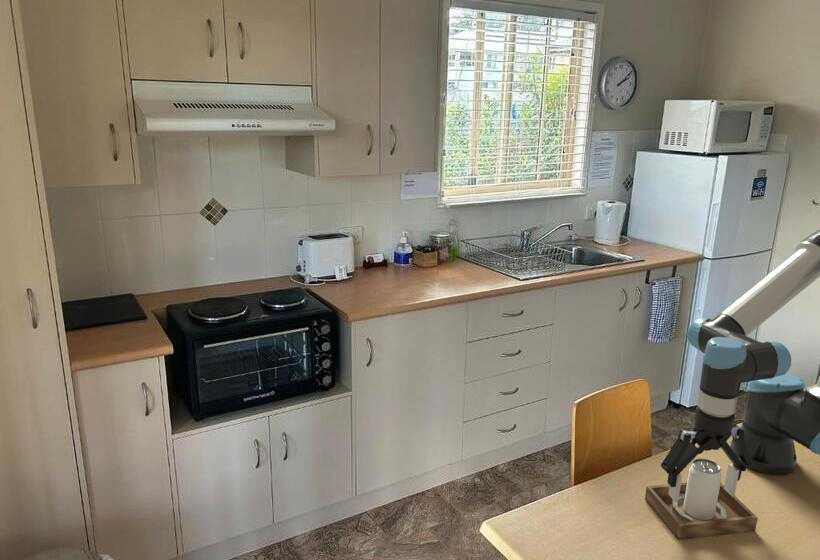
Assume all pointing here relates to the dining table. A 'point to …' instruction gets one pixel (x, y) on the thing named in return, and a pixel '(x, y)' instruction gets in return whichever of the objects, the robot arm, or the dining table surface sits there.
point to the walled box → (726, 520)
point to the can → (702, 489)
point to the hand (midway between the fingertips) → (701, 495)
